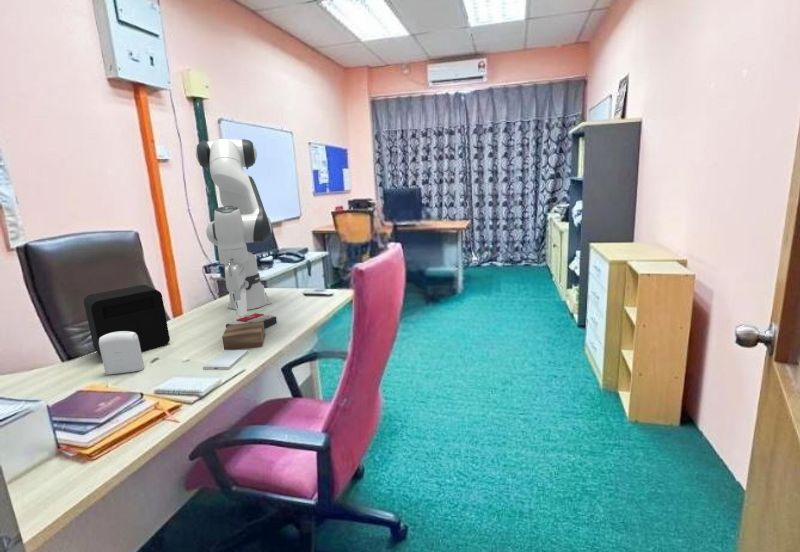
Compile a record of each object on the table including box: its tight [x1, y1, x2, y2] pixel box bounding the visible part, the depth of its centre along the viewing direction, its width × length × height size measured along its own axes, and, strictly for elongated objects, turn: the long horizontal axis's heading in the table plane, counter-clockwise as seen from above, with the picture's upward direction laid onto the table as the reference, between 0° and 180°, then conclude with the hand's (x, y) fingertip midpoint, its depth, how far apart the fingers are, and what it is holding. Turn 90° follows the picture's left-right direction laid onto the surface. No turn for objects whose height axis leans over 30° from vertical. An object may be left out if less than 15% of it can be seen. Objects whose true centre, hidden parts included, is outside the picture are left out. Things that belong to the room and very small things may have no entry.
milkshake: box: [232, 288, 248, 317], centre depth 144 cm, size 5×5×10 cm
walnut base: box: [221, 321, 266, 351], centre depth 147 cm, size 12×12×5 cm
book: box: [225, 312, 278, 329], centre depth 162 cm, size 11×4×15 cm
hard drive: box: [202, 349, 249, 371], centre depth 132 cm, size 2×8×12 cm
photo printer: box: [99, 331, 145, 376], centre depth 128 cm, size 10×4×12 cm, turn 100°
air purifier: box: [83, 284, 171, 358], centre depth 146 cm, size 20×15×20 cm
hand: (239, 297), depth 144 cm, fingers closed on milkshake, 4 cm apart
